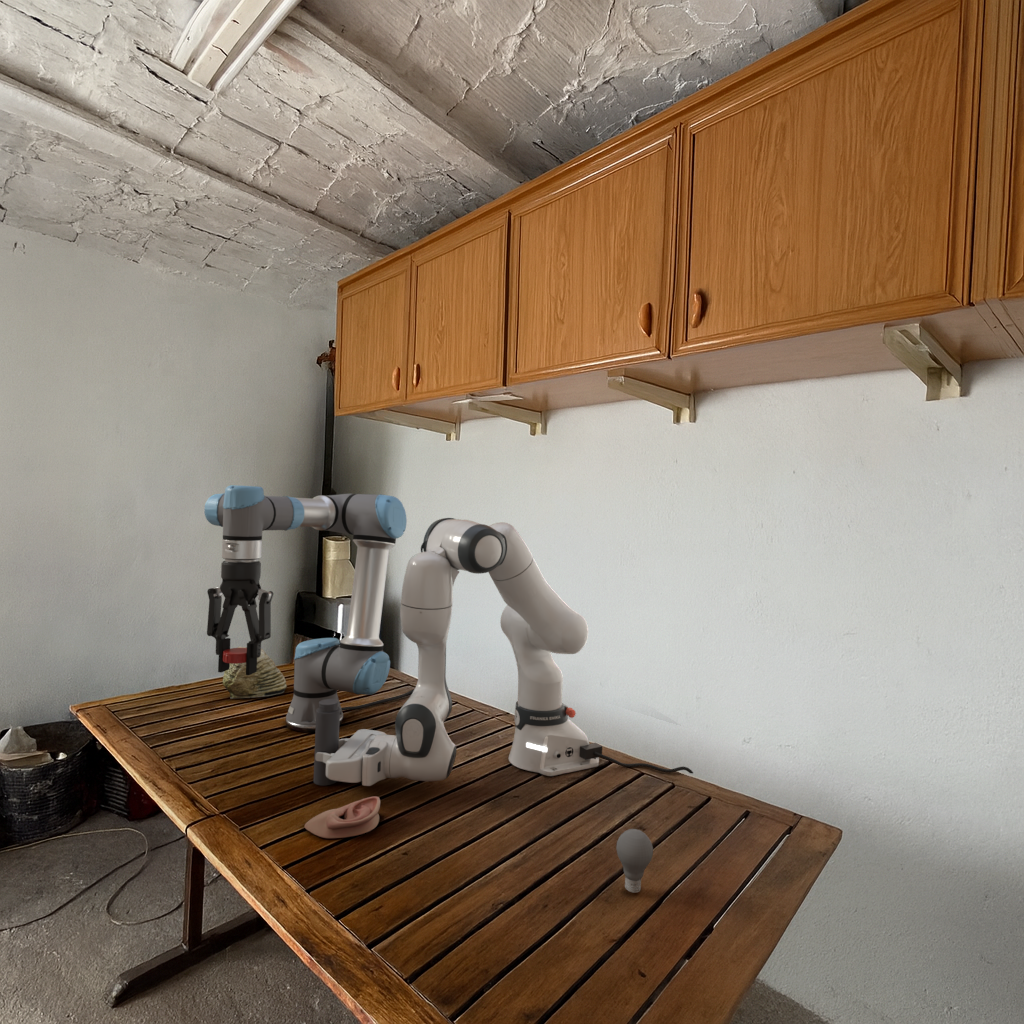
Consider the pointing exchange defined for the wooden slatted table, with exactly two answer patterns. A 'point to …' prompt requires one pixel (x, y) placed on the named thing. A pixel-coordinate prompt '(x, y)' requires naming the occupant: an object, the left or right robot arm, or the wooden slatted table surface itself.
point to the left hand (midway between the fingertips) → (237, 671)
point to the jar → (326, 737)
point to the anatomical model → (346, 819)
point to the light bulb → (634, 857)
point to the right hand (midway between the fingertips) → (322, 749)
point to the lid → (235, 655)
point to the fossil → (254, 679)
